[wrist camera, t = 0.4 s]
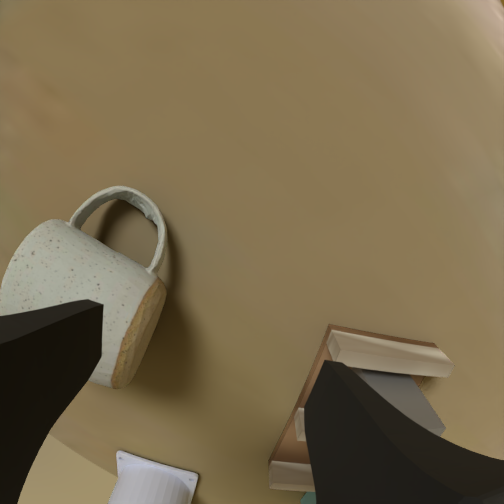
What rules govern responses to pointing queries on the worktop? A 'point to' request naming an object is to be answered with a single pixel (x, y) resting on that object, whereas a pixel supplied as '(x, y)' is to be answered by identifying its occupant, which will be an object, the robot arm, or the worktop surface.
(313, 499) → the teal plug
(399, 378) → the grey plug
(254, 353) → the worktop surface
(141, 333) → the ceramic mug
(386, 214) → the worktop surface
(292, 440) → the brown tray
